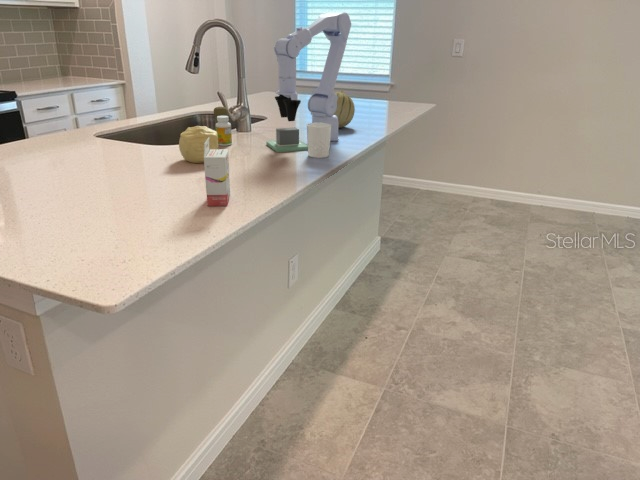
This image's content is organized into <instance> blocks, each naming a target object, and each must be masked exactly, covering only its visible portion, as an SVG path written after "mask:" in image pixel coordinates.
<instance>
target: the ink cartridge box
mask: <svg viewBox="0 0 640 480" xmlns="http://www.w3.org/2000/svg"><path fill="white" fill-rule="evenodd" d="M206 146H207V148H206ZM229 158H230V157H229V149H228V148H225V149H224V148H223V149H222V148H221V149H220V148H218V149H210V150H209V137H208V139H207V140H206V142H205V143H204V163H203V165H204V177H205V178H204V179H205V190H206V192H205V193H206V201H207V202H206V203H207V207H228V205H229V200H230V197H231V187H230V186H231V185H230V184H231V183H230V163H229ZM209 205H210V206H209Z"/></svg>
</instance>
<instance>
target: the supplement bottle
mask: <svg viewBox="0 0 640 480" xmlns="http://www.w3.org/2000/svg"><path fill="white" fill-rule="evenodd" d="M229 120H230V119H229V115H227V116H217V121H218V123H216V125H215V124H214V127H215V126H216V132H217V135H218V146H221V147H228V146H232V144H233V137H232V124H231V122H229Z"/></svg>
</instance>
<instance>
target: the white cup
mask: <svg viewBox="0 0 640 480" xmlns="http://www.w3.org/2000/svg"><path fill="white" fill-rule="evenodd" d="M330 137H331V125H330V124H327V123H312V122H310V123H308V124H306V139H307V140H306V141H307V142H306V143H307V145H308V150H307V153H308V154H307V155H308V157H310V158H315V159H323V158H324V159H325V158H327V157H329V155H330V147H331V141H330Z"/></svg>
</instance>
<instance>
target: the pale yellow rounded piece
mask: <svg viewBox="0 0 640 480" xmlns="http://www.w3.org/2000/svg"><path fill="white" fill-rule="evenodd" d="M208 137H209V150H210V149H219V145H218V135H217V132H216V131H215V129H212V128H209V127H207V126H205V125H203V126H202V125H201V126H200V125H196V126H191V127H190V126H188V127H187V128H186V129H185V131H182V132H181V133H180V137H179V141H178V147H179V151H180V155H181V156H182V157H183V159H184V160H185V161H187V162H189V163H194V164H200V163H202V164H204V143H205V142H206V140H207V139H208ZM206 148H207V146H206Z"/></svg>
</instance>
